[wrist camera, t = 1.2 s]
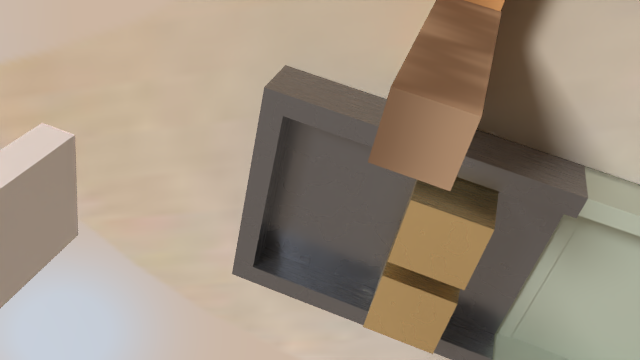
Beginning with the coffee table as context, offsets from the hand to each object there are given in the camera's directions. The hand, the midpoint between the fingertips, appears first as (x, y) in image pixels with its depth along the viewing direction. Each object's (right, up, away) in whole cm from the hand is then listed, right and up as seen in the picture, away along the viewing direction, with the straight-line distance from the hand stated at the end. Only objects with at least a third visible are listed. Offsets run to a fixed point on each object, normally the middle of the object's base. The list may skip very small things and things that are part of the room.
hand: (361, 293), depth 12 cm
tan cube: (+5, -3, +23) cm, 24 cm away
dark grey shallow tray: (+3, +1, +23) cm, 23 cm away
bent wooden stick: (+6, +10, +16) cm, 20 cm away
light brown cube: (+6, +1, +20) cm, 21 cm away
